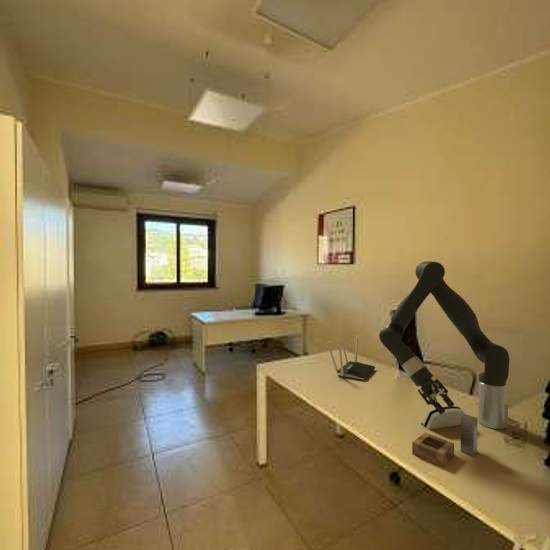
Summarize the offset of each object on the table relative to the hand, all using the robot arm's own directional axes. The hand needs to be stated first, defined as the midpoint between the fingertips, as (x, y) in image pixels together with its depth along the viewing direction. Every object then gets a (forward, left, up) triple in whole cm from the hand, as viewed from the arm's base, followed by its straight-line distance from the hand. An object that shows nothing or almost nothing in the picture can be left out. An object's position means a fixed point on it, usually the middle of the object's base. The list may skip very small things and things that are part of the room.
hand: (447, 409), depth 117 cm
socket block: (+8, +8, -13) cm, 17 cm away
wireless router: (+28, -76, -13) cm, 82 cm away
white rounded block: (-3, -13, -13) cm, 19 cm away
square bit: (-5, +5, -13) cm, 14 cm away
